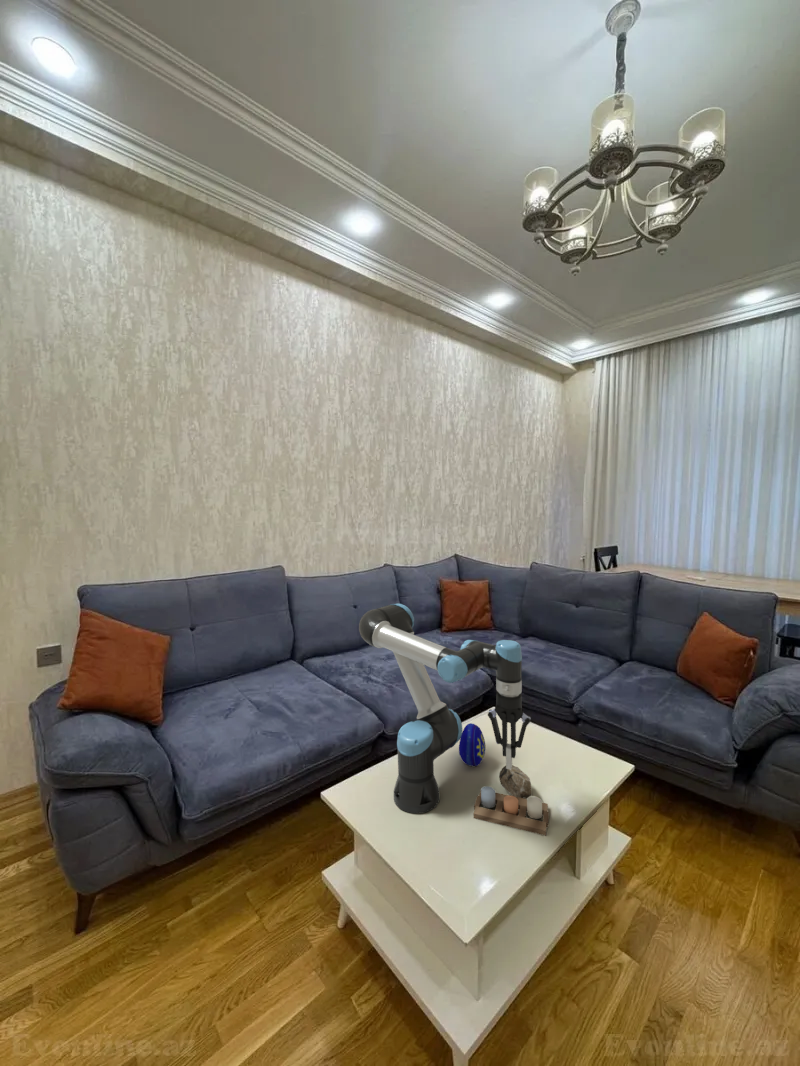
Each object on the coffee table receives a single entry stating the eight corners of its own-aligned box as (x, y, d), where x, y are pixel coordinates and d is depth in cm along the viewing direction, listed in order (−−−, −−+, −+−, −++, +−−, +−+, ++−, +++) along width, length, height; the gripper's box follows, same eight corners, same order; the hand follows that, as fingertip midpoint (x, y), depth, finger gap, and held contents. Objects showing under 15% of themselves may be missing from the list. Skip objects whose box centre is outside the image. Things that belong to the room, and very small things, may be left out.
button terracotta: (502, 815, 132) (502, 803, 131) (504, 806, 136) (504, 794, 136) (517, 819, 130) (517, 806, 130) (519, 809, 134) (519, 797, 134)
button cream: (526, 816, 129) (526, 804, 129) (527, 807, 133) (527, 794, 133) (541, 820, 127) (541, 807, 127) (542, 810, 131) (542, 797, 131)
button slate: (480, 805, 134) (479, 793, 134) (482, 797, 138) (482, 785, 138) (494, 809, 133) (494, 796, 132) (496, 800, 137) (496, 788, 136)
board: (471, 817, 131) (471, 813, 131) (479, 793, 143) (479, 788, 142) (547, 836, 123) (547, 831, 123) (549, 808, 134) (549, 804, 134)
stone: (523, 804, 136) (523, 782, 136) (494, 785, 146) (495, 764, 146) (537, 796, 141) (538, 775, 140) (509, 778, 150) (509, 758, 150)
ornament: (478, 775, 152) (477, 734, 151) (454, 767, 157) (453, 727, 156) (489, 759, 162) (488, 720, 161) (466, 752, 166) (465, 714, 165)
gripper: (485, 694, 130) (485, 769, 131) (530, 700, 125) (530, 778, 127) (489, 684, 137) (490, 755, 138) (532, 690, 132) (532, 763, 134)
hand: (509, 766), depth 132 cm, fingers closed
